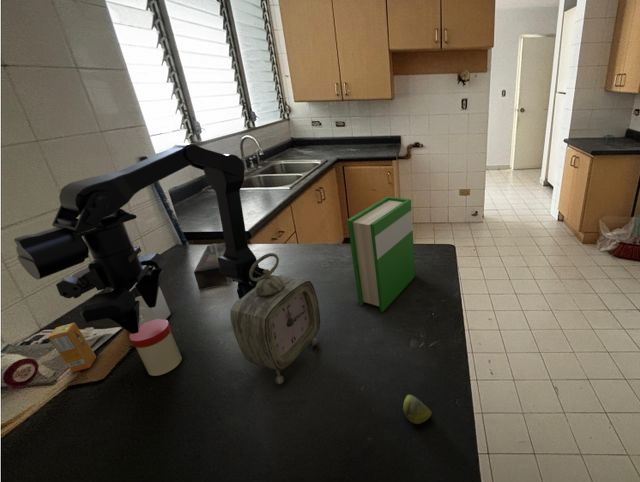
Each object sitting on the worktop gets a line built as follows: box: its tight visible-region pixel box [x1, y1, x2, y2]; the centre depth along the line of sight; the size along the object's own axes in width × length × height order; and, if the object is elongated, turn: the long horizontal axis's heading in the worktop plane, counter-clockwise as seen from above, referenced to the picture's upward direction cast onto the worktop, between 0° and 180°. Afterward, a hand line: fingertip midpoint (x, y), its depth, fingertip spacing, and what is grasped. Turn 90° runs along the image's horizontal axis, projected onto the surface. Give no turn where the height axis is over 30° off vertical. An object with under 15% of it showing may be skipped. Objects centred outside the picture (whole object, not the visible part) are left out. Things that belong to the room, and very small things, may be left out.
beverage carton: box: [193, 242, 230, 290], centre depth 104 cm, size 8×19×7 cm, turn 20°
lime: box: [402, 394, 433, 425], centre depth 56 cm, size 4×5×5 cm
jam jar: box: [135, 331, 183, 377], centre depth 69 cm, size 6×6×9 cm
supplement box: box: [47, 322, 97, 373], centre depth 70 cm, size 3×3×10 cm
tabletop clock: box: [230, 252, 321, 385], centre depth 66 cm, size 14×9×25 cm, turn 160°
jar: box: [109, 285, 171, 326], centre depth 82 cm, size 9×8×12 cm
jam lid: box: [129, 319, 172, 348], centre depth 68 cm, size 6×6×2 cm
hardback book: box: [346, 195, 416, 313], centre depth 88 cm, size 18×7×24 cm, turn 153°
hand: (144, 319), depth 66 cm, fingers open, 8 cm apart
